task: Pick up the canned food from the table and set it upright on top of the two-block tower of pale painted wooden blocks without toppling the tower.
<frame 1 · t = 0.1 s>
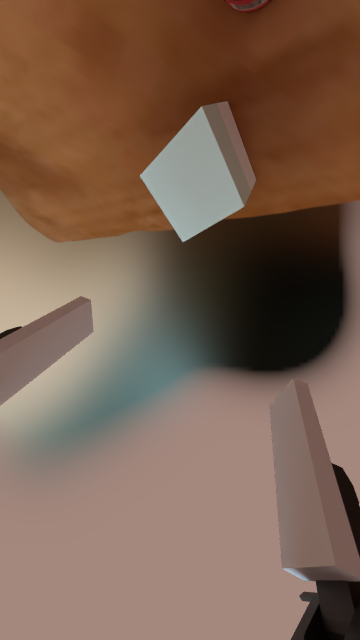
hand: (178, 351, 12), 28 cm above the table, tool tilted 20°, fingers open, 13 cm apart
tower base: (213, 168, 27), on the table, touching tower top
tower top: (203, 178, 24), point 5 cm above the table, touching tower base
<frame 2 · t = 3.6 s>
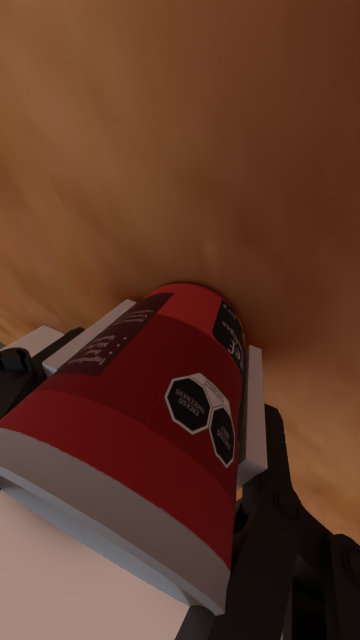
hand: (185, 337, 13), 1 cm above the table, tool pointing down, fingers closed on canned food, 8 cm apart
canned food: (191, 326, 14), on the table, touching gripper
tower base: (83, 366, 22), on the table
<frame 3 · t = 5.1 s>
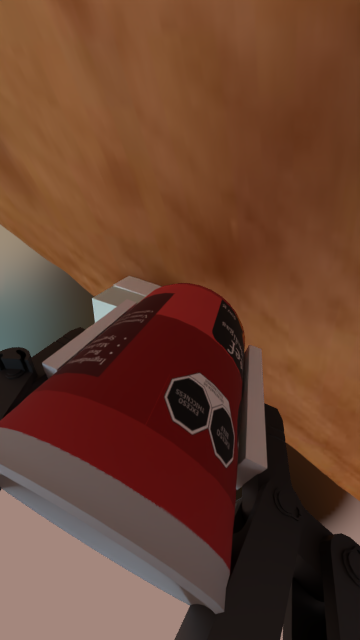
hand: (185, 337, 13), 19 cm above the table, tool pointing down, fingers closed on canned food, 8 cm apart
canned food: (191, 326, 14), point 18 cm above the table, touching gripper
tower base: (149, 303, 37), on the table, touching tower top
tower top: (136, 316, 33), point 5 cm above the table, touching tower base
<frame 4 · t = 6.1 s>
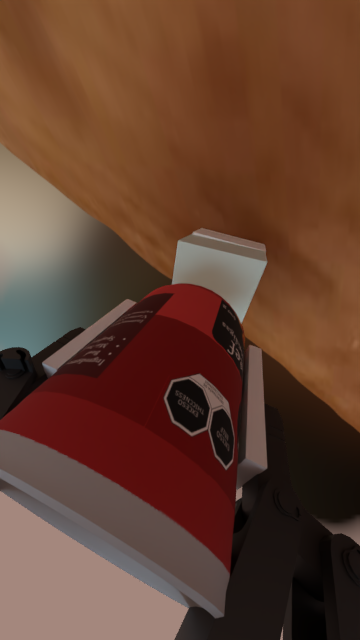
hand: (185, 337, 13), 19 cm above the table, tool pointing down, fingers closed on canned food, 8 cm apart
canned food: (191, 327, 14), point 18 cm above the table, touching gripper
tower base: (222, 266, 29), on the table
tower top: (216, 277, 25), point 5 cm above the table
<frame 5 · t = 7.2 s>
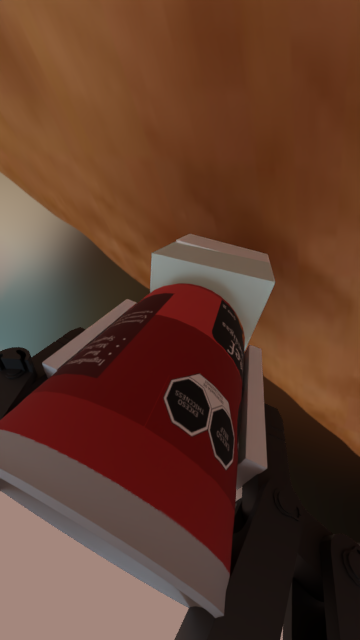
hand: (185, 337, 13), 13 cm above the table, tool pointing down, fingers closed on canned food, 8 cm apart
canned food: (191, 327, 14), point 11 cm above the table, touching gripper
tower base: (216, 279, 24), on the table, touching tower top
tower top: (209, 295, 20), point 5 cm above the table, touching tower base
when the fingers open (13 cm above the table, at t = 7.6 s): canned food drops 2 cm, resting on tower top.
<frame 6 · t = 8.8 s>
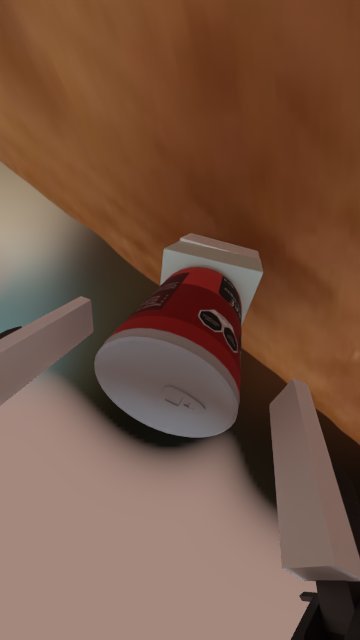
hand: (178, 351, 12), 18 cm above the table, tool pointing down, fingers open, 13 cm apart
canned food: (200, 301, 19), point 10 cm above the table, touching tower top
tower base: (213, 273, 27), on the table, touching tower top
tower top: (209, 287, 23), point 5 cm above the table, touching canned food, tower base
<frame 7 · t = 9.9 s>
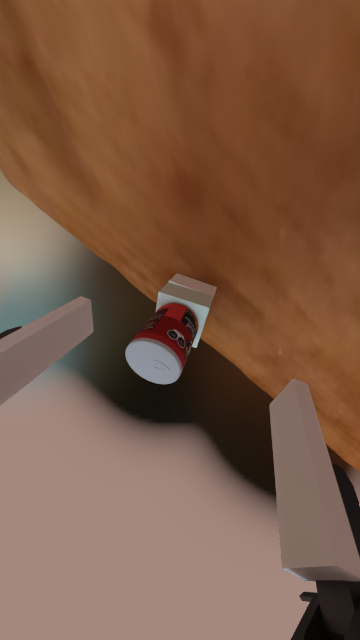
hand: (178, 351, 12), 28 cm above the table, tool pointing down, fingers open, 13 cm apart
canned food: (178, 320, 34), point 10 cm above the table, touching tower top
tower base: (191, 298, 42), on the table, touching tower top
tower top: (185, 308, 38), point 5 cm above the table, touching canned food, tower base
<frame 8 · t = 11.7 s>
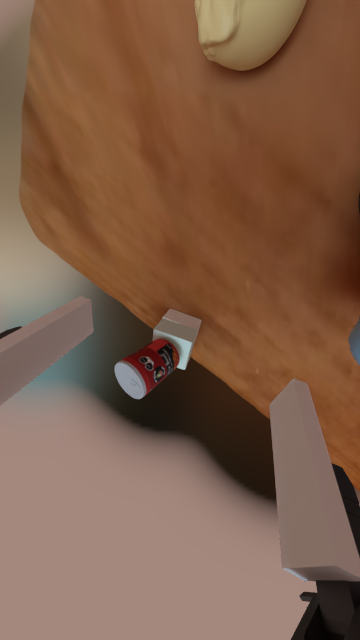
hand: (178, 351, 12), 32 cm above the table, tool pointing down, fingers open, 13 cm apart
sculpture: (253, 16, 23), on the table
canned food: (167, 352, 42), point 11 cm above the table, touching tower top
tower base: (182, 327, 51), on the table, touching tower top
tower top: (177, 337, 47), point 5 cm above the table, touching canned food, tower base
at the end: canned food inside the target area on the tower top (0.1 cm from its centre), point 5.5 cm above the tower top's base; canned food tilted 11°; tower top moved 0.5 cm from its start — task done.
